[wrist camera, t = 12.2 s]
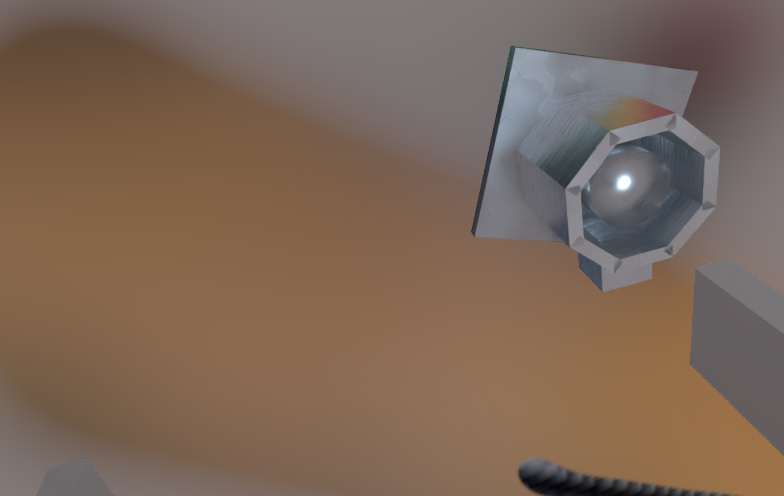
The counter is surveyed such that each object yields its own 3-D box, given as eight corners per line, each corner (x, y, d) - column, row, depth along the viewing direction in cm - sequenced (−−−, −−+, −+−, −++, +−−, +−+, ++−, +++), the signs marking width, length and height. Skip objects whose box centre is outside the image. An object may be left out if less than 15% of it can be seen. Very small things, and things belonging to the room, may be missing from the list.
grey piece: (512, 110, 34) (561, 143, 27) (644, 75, 34) (723, 100, 28) (530, 263, 39) (575, 320, 33) (645, 231, 39) (711, 281, 33)
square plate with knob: (471, 232, 38) (505, 282, 32) (511, 45, 33) (560, 63, 27) (629, 241, 40) (689, 289, 34) (690, 69, 35) (772, 90, 29)
